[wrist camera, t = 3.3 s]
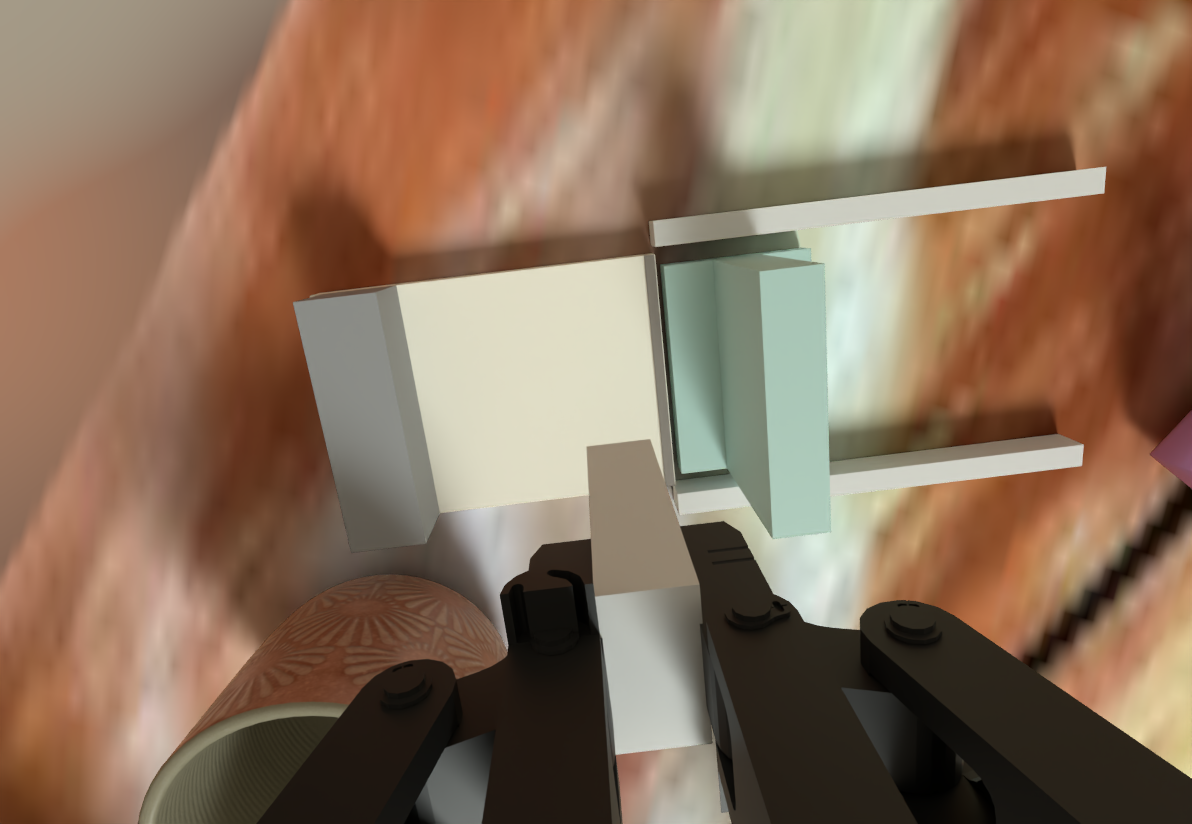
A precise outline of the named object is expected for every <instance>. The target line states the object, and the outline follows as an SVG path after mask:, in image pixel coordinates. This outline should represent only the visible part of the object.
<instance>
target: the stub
mask: <svg viewBox="0 0 1192 824" xmlns="http://www.w3.org/2000/svg"><path fill="white" fill-rule="evenodd" d="M660 270H661V282H662V293H663V304H664V316H665V327H666V339H667V350H668V361H669V373H670V384H671V395H672V407H673V418H674V429H675V441H676V452H677V464H678V467H679V469H680V471H681V473H682V474H685V473H693V472H701V471H710V470H718V469H726V468H727V469H728V471H729V472H730V474H731V475H732V477H733V479H734V480H735V482H736V483H737V485H738V486H739V488H740V489H741V491H742V492H743V494H744V496H745V497H746V499H747V500H748V502H749V503H750V505H751V506H752V508H753V509H754V511H755V512H756V514H757V516H758V517H759V519H760V520H761V522H762V523H763V525H764V526H765V528H766V529H767V531H768V533H769V534H770V536H771V537H772V539H778V538H786V537H795V536H803V535H811V534H819V533H827V532H831V511H830V470H829V429H828V388H827V347H826V306H825V265H824V264H823V263H816V262H811V248H793V249H785V250H777V251H768V252H760V253H752V254H743V255H735V256H727V257H718V258H710V259H702V260H693V261H685V262H677V263H668V264H660Z"/></svg>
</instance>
